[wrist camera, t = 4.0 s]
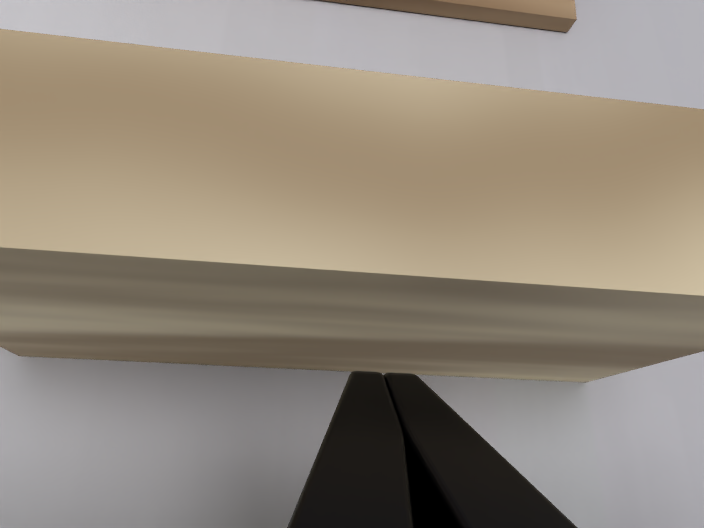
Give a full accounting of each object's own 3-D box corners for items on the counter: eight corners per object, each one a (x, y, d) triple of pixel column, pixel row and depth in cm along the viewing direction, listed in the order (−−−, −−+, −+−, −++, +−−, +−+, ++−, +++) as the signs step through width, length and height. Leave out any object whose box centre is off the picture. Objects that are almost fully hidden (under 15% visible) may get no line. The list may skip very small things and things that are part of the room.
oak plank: (584, 382, 16) (868, 306, 9) (21, 356, 14) (-235, 230, 7) (573, 274, 17) (821, 122, 10) (44, 236, 15) (-156, 11, 8)
